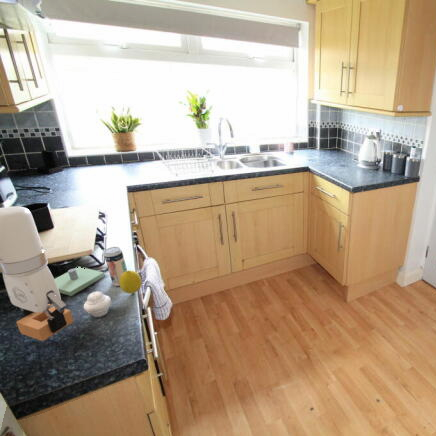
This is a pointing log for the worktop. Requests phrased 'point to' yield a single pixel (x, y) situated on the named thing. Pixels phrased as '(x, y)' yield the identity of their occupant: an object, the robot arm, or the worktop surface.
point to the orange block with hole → (40, 324)
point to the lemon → (130, 282)
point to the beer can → (115, 264)
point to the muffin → (97, 304)
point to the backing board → (77, 280)
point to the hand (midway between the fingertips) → (47, 324)
